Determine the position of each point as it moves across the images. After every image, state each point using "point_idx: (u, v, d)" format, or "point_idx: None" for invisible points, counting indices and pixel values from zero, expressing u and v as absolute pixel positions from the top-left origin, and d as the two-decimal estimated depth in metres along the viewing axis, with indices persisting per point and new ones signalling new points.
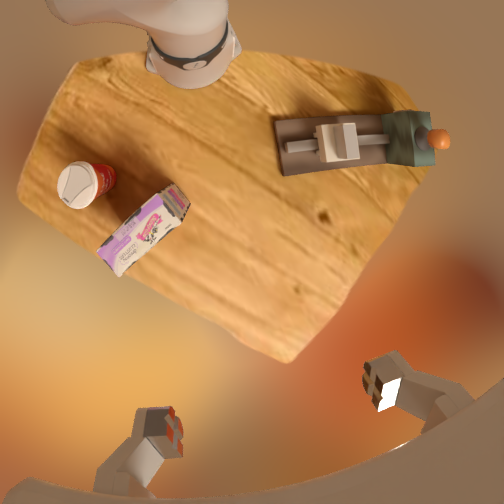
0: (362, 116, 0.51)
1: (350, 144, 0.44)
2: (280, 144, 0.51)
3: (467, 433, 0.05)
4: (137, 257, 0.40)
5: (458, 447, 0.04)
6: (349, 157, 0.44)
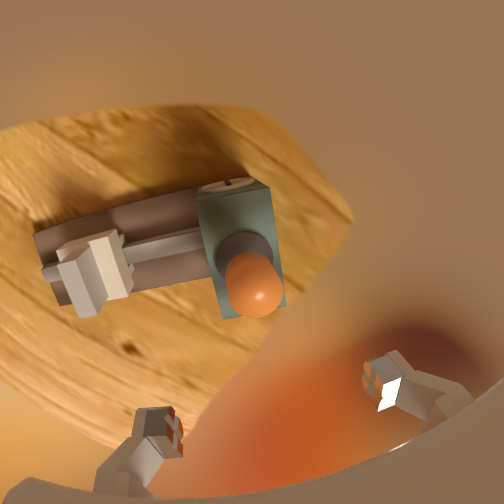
0: (157, 199, 0.31)
1: (77, 295, 0.23)
2: (44, 266, 0.31)
3: (467, 433, 0.05)
4: None
5: (458, 447, 0.04)
6: (81, 315, 0.24)
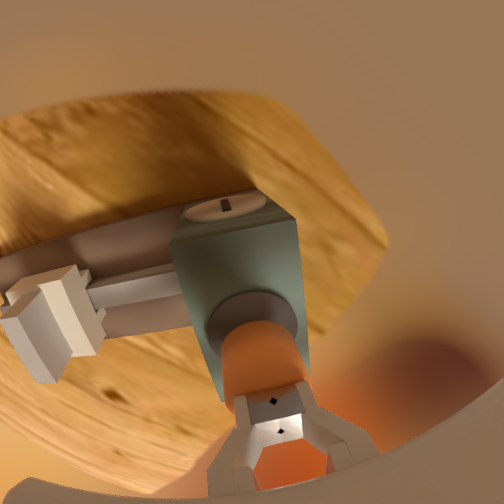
0: (130, 223, 0.22)
1: (28, 358, 0.15)
2: (5, 301, 0.22)
3: (467, 433, 0.05)
4: None
5: (458, 447, 0.04)
6: (38, 381, 0.15)
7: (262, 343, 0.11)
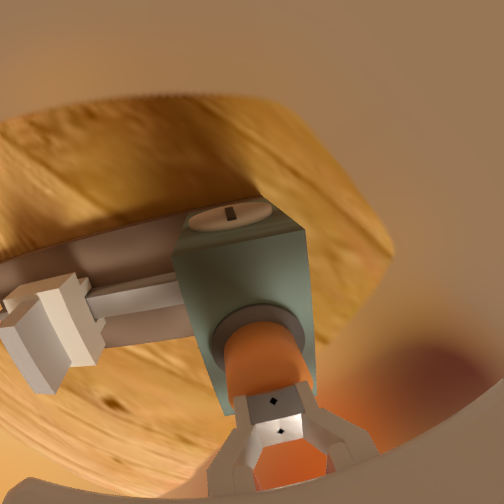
0: (130, 231, 0.21)
1: (26, 368, 0.14)
2: (3, 307, 0.21)
3: (467, 433, 0.05)
4: None
5: (458, 447, 0.04)
6: (36, 391, 0.14)
7: (265, 342, 0.11)
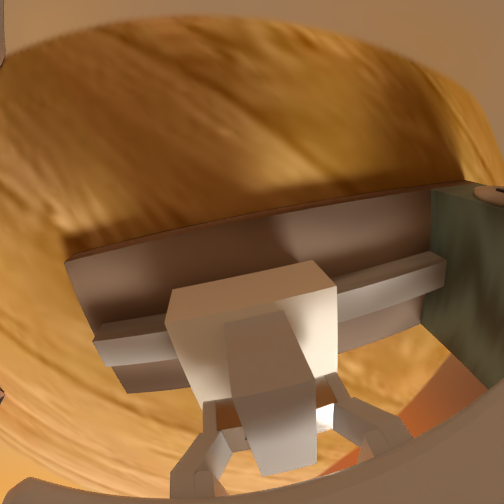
0: (374, 203, 0.16)
1: (280, 447, 0.08)
2: (93, 327, 0.16)
3: (467, 433, 0.05)
4: None
5: (458, 447, 0.04)
6: (271, 472, 0.09)
7: None
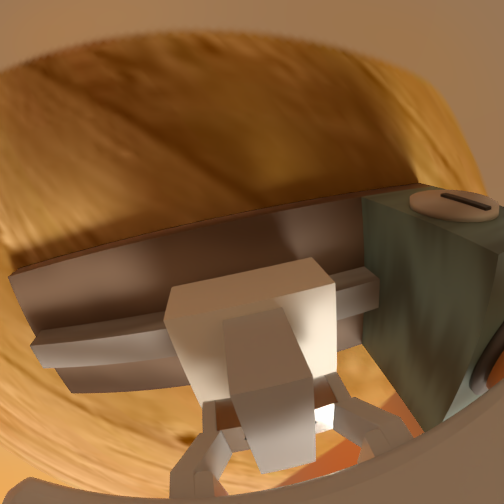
0: (282, 217, 0.15)
1: (279, 445, 0.09)
2: (36, 333, 0.16)
3: (467, 433, 0.05)
4: None
5: (458, 447, 0.04)
6: (270, 470, 0.09)
7: None
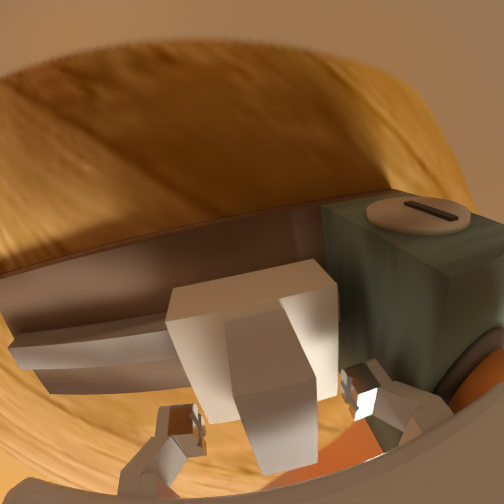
0: (234, 228, 0.15)
1: (281, 446, 0.08)
2: (14, 336, 0.15)
3: (467, 433, 0.05)
4: None
5: (458, 447, 0.04)
6: (272, 471, 0.09)
7: None
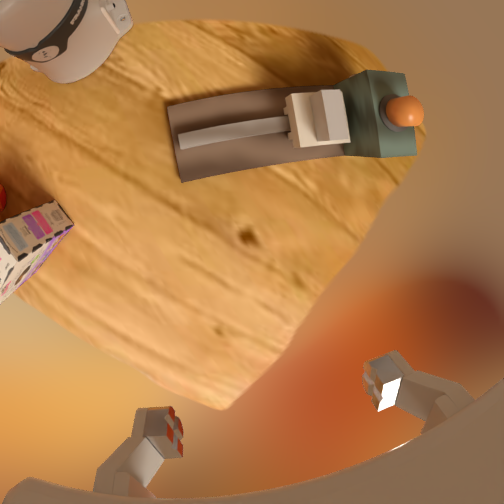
0: (302, 88, 0.35)
1: (334, 118, 0.28)
2: (174, 138, 0.35)
3: (467, 433, 0.05)
4: None
5: (458, 447, 0.04)
6: (333, 138, 0.29)
7: None
